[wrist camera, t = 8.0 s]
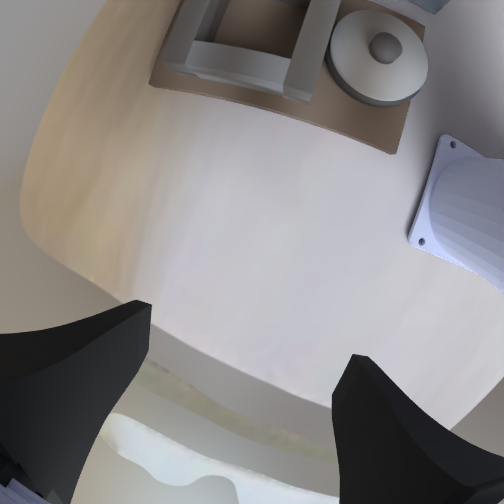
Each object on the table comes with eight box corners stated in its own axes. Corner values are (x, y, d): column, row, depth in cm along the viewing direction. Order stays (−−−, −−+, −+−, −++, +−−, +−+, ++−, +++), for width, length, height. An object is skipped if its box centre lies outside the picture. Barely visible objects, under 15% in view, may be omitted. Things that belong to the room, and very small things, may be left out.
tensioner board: (419, 31, 14) (446, 7, 10) (390, 154, 17) (419, 153, 13) (201, -27, 14) (183, -59, 10) (154, 87, 17) (121, 71, 13)
